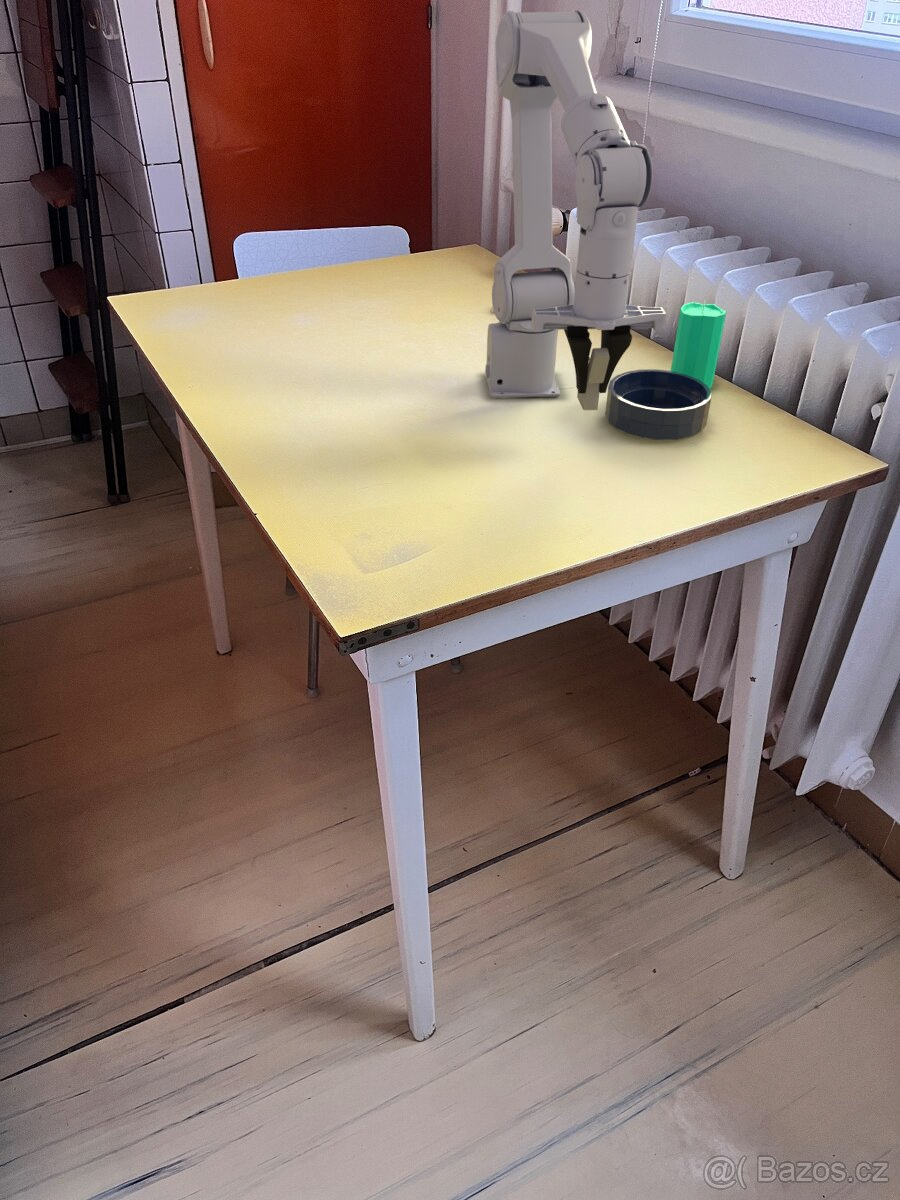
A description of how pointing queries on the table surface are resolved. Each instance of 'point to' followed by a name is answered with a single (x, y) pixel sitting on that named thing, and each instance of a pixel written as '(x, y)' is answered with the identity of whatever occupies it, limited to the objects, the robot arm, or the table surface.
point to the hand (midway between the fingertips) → (590, 389)
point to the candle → (698, 341)
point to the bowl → (658, 404)
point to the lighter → (594, 378)
